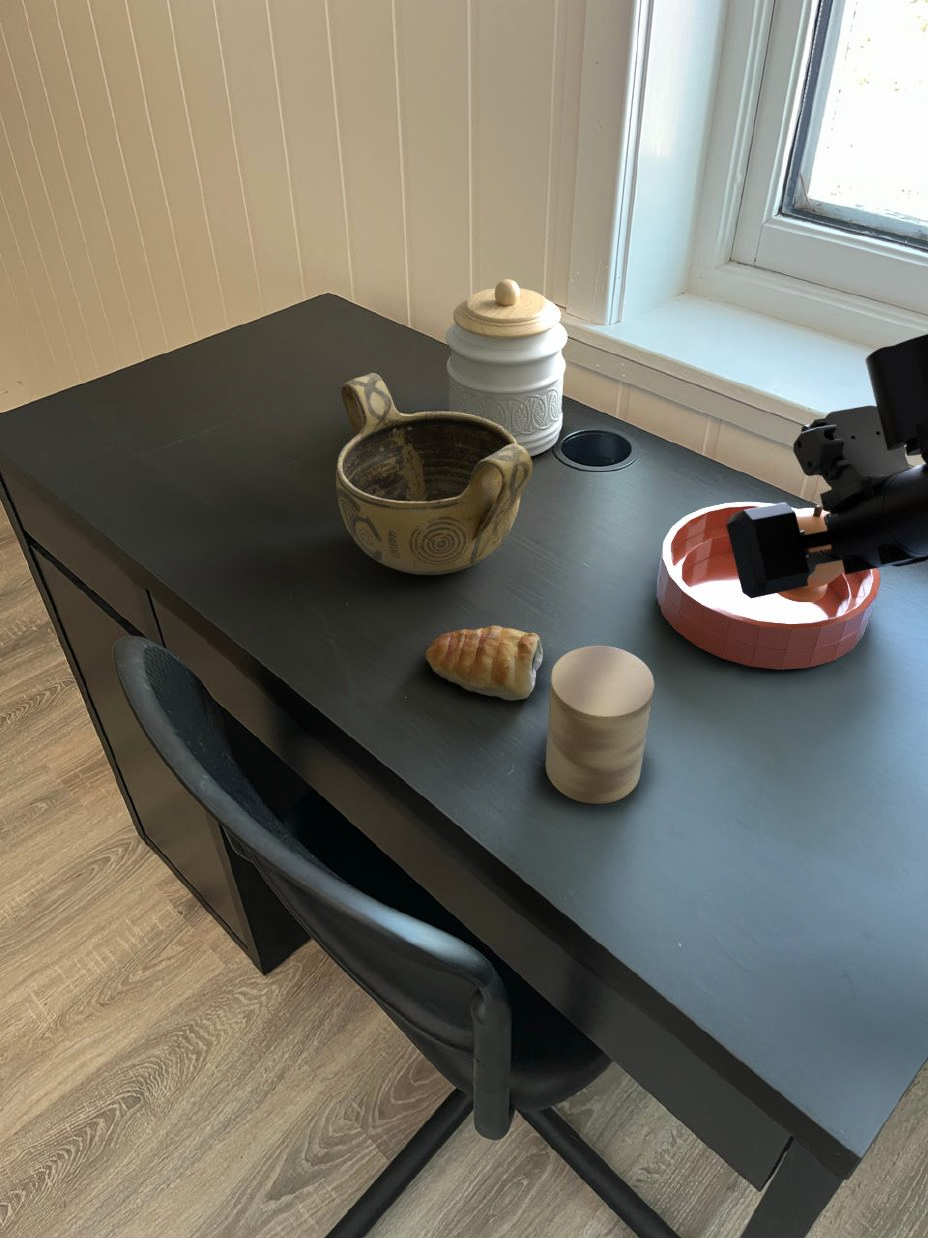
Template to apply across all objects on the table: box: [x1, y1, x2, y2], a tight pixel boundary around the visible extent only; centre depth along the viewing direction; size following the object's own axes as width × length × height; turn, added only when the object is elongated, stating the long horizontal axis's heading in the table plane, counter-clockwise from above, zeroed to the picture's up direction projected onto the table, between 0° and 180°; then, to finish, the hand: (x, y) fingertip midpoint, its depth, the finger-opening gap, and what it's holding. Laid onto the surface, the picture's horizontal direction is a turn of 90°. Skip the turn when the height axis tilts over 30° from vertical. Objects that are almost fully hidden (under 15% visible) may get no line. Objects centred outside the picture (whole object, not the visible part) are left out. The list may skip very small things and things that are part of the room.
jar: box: [445, 278, 568, 457], centre depth 103 cm, size 13×13×18 cm
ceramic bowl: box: [335, 372, 534, 576], centre depth 86 cm, size 22×17×15 cm
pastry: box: [425, 624, 544, 701], centre depth 77 cm, size 9×7×4 cm
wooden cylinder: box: [545, 645, 655, 805], centre depth 67 cm, size 7×7×9 cm
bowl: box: [656, 501, 881, 671], centre depth 83 cm, size 18×18×5 cm
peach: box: [777, 504, 844, 603], centre depth 75 cm, size 6×6×8 cm
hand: (795, 553), depth 77 cm, fingers closed on peach, 6 cm apart
